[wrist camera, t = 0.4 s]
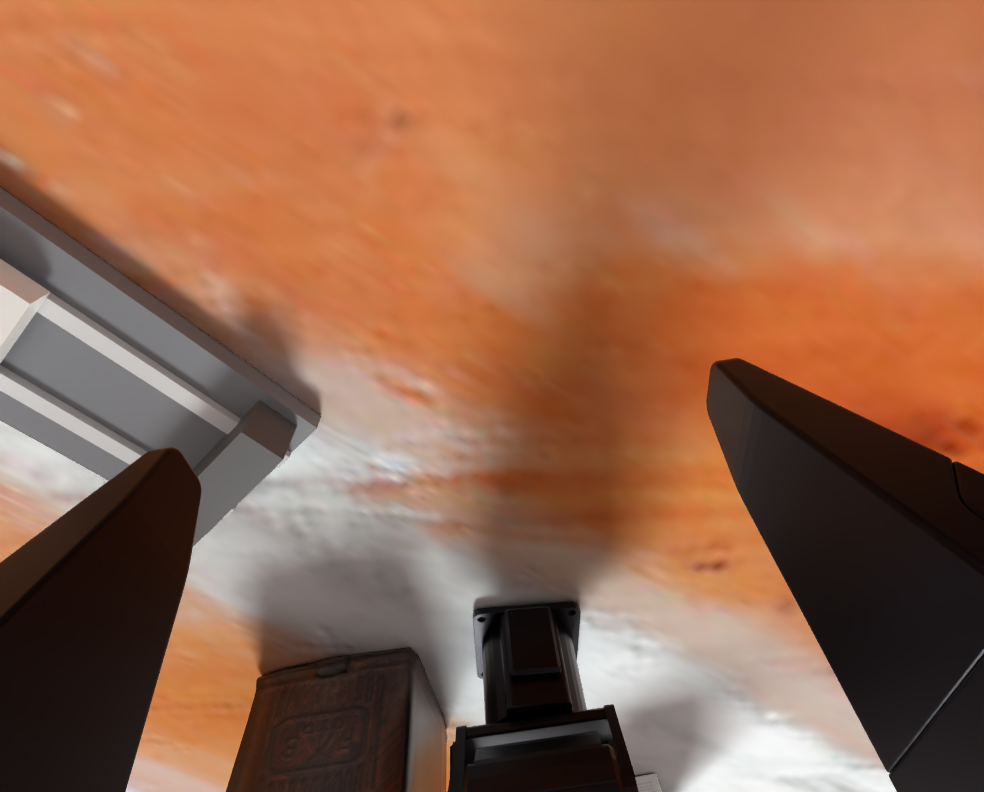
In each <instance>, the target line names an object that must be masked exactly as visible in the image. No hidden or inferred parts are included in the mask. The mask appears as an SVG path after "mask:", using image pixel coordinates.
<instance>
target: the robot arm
mask: <svg viewBox="0 0 984 792" xmlns="http://www.w3.org/2000/svg"><path fill="white" fill-rule="evenodd" d="M707 411H708V415H709V417H710V420H711V423H712V425H713V428H714V430H715V433H716V436H717V438H718V441H719V443H720V446H721V449H722V451H723V454H724V457H725V459H726V462H727V464H728V467H729V470H730V472H731V475H732V477H733V480H734V482H735V485H736V487H737V490H738V492H739V494H740V496H741V498H742V500H743V502H744V504H745V506H746V508H747V509H748V511H749V513H750V515H751V517H752V519H753V521H754V523H755V524H756V526H757V528H758V530H759V532H760V534H761V536H762V538H763V540H764V541H765V543H766V545H767V547H768V549H769V551H770V553H771V555H772V556H773V558H774V560H775V562H776V564H777V566H778V568H779V570H780V572H781V573H782V575H783V577H784V579H785V581H786V583H787V585H788V587H789V588H790V590H791V592H792V594H793V596H794V598H795V600H796V602H797V604H798V605H799V607H800V609H801V611H802V613H803V615H804V617H805V619H806V620H807V622H808V624H809V626H810V628H811V630H812V632H813V634H814V636H815V637H816V639H817V641H818V643H819V645H820V647H821V649H822V651H823V652H824V654H825V656H826V658H827V660H828V662H829V664H830V666H831V668H832V669H833V671H834V673H835V675H836V677H837V679H838V681H839V683H840V684H841V686H842V688H843V690H844V692H845V694H846V696H847V698H848V700H849V701H850V703H851V705H852V707H853V709H854V711H855V713H856V715H857V716H858V718H859V720H860V722H861V724H862V726H863V728H864V730H865V732H866V733H867V735H868V737H869V739H870V741H871V743H872V745H873V747H874V748H875V750H876V752H877V754H878V756H879V758H880V760H881V762H882V763H883V765H884V767H885V769H886V771H887V772H889V773H890V774H889V777H890V779H891V781H892V783H893V785H894V787H895V789H896V791H897V792H984V474H982V473H980V472H978V471H976V470H974V469H972V468H970V467H968V466H966V465H964V464H962V463H959V462H953V463H952V460H951V459H950V458H949V457H946V456H944V455H942V454H940V453H938V452H936V451H934V450H932V449H930V448H927V447H925V446H923V445H921V444H919V443H917V442H915V441H913V440H911V439H909V438H906V437H904V436H902V435H900V434H898V433H896V432H894V431H892V430H890V429H888V428H885V427H883V426H881V425H879V424H877V423H875V422H873V421H871V420H869V419H866V418H864V417H862V416H860V415H858V414H856V413H854V412H852V411H850V410H848V409H845V408H843V407H841V406H839V405H837V404H835V403H833V402H831V401H829V400H826V399H824V398H822V397H820V396H818V395H816V394H814V393H812V392H810V391H808V390H805V389H803V388H801V387H799V386H797V385H795V384H793V383H791V382H789V381H787V380H784V379H782V378H780V377H778V376H776V375H774V374H772V373H770V372H768V371H765V370H763V369H761V368H759V367H757V366H755V365H753V364H751V363H749V362H747V361H744V360H742V359H740V358H733V359H727V360H720V361H716V362H714V363H713V364H712V366H711V369H710V377H709V385H708V393H707ZM201 493H202V489H201V484H200V481H199V479H198V477H197V476H196V474H195V473H194V471H193V470H192V468H191V467H190V465H189V463H188V462H187V460H186V459H185V457H184V456H183V454H182V453H181V452H180V451H179V450H178V449H177V448H174V447H168V448H161V449H155V450H151V451H148V452H146V453H145V454H144V455H142V456H141V457H140V458H138V459H137V460H136V461H134V462H133V463H132V464H130V465H129V466H128V467H126V468H125V469H124V470H123V471H121V472H120V473H119V474H117V475H116V476H115V477H113V478H112V479H111V480H109V481H108V482H107V483H105V484H104V485H103V486H101V487H100V488H99V489H97V490H96V491H95V492H93V493H92V494H91V495H89V496H88V497H87V498H85V499H84V500H83V501H81V502H80V503H79V504H77V505H76V506H75V507H74V508H72V509H71V510H70V511H68V512H67V513H66V514H64V515H63V516H62V517H60V518H59V519H58V520H56V521H55V522H54V523H52V524H51V525H50V526H48V527H47V528H46V529H44V530H43V531H42V532H40V533H39V534H38V535H36V536H35V537H34V538H32V539H31V540H30V541H28V542H27V543H26V544H25V545H23V546H22V547H21V548H19V549H18V550H17V551H15V552H14V553H13V554H11V555H10V556H9V557H7V558H6V559H5V560H3V561H2V562H1V563H0V792H125V791H126V788H127V784H128V781H129V777H130V774H131V770H132V767H133V763H134V760H135V756H136V753H137V749H138V746H139V742H140V739H141V735H142V732H143V728H144V725H145V722H146V718H147V715H148V711H149V708H150V704H151V701H152V697H153V694H154V690H155V687H156V683H157V680H158V676H159V673H160V669H161V666H162V663H163V659H164V656H165V652H166V649H167V645H168V642H169V638H170V635H171V631H172V628H173V624H174V621H175V617H176V614H177V610H178V607H179V603H180V600H181V597H182V593H183V590H184V586H185V582H186V578H187V574H188V569H189V565H190V560H191V554H192V548H193V542H194V536H195V530H196V524H197V518H198V512H199V506H200V500H201ZM473 623H474V637H475V651H476V664H477V675H478V677H479V678H481V679H483V682H484V702H485V721H486V725H479V726H472V727H467V726H459V727H456V741H455V742H453V745H452V746H451V747H450V781H449V788H448V792H639V791H638V787H637V783H636V779H635V775H634V772H633V768H632V765H631V761H630V758H629V755H628V751H627V748H626V745H625V741H624V738H623V735H622V731H621V728H620V725H619V722H618V718H617V715H616V712H615V708H614V705H613V704H611V705H604V708H597V709H590V710H587V708H586V704H585V699H584V694H583V689H582V684H581V680H580V675H579V670H578V665H577V650H578V637H579V624H580V609H579V605H578V604H577V603H575V602H565V603H551V604H537V605H524V606H510V607H496V608H482V609H477V610H475V611H474V613H473Z"/></svg>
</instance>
